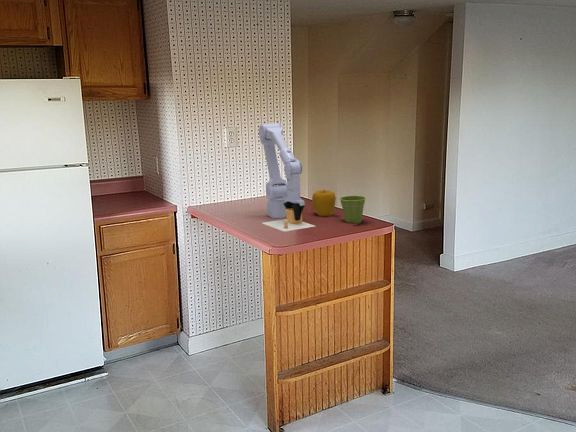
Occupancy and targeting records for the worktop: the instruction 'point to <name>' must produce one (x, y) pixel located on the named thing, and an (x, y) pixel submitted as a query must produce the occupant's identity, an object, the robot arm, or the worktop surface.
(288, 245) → the worktop surface
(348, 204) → the plant pot
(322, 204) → the apple
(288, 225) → the plate
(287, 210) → the wooden toy cube
